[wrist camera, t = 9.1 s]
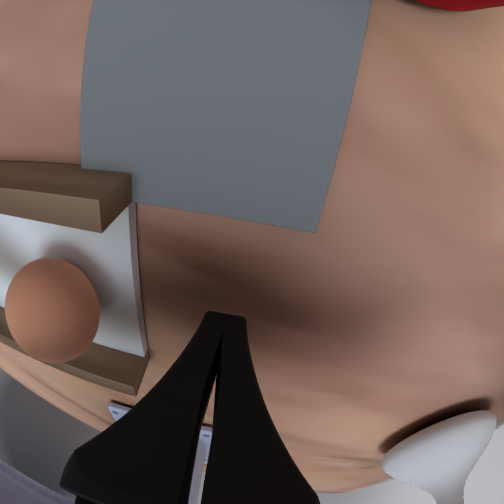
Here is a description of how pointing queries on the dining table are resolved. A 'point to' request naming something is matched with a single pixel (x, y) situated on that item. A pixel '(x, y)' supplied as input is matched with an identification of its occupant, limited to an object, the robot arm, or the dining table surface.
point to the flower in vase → (442, 455)
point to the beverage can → (463, 4)
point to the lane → (79, 257)
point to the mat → (222, 102)
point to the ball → (52, 310)
